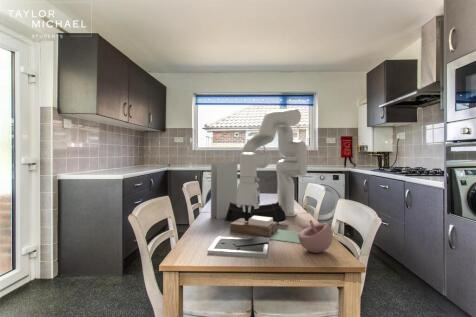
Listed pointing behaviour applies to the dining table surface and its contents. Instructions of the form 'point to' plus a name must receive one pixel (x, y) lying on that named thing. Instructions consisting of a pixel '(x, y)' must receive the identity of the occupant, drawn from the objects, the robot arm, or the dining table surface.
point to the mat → (286, 236)
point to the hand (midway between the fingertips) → (247, 220)
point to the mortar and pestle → (316, 237)
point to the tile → (260, 221)
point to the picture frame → (240, 246)
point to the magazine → (257, 212)
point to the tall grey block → (223, 187)
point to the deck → (252, 228)
